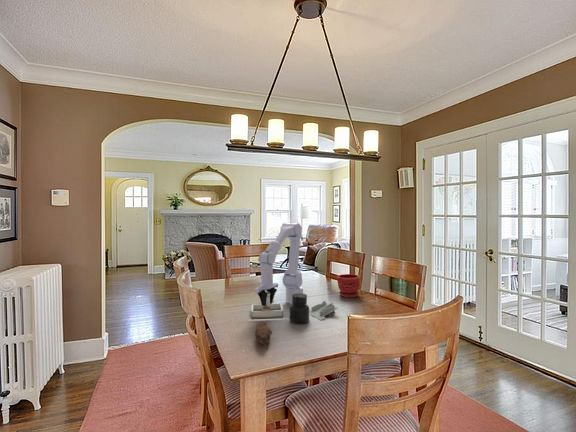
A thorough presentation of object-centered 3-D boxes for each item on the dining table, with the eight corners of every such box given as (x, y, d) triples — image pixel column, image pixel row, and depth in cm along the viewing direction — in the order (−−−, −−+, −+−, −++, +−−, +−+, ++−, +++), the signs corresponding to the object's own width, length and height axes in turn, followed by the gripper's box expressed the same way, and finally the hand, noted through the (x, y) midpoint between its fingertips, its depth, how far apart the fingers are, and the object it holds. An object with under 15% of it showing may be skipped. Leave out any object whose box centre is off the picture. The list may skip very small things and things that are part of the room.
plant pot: (352, 292, 198) (352, 272, 197) (363, 297, 185) (364, 277, 185) (333, 293, 193) (333, 274, 193) (344, 299, 181) (344, 278, 181)
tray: (281, 310, 162) (281, 303, 162) (283, 317, 150) (283, 310, 150) (251, 311, 161) (251, 304, 161) (251, 319, 149) (251, 311, 149)
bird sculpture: (269, 327, 138) (269, 316, 138) (274, 353, 113) (274, 339, 113) (254, 328, 137) (254, 316, 137) (256, 354, 112) (256, 340, 112)
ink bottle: (313, 320, 146) (313, 295, 146) (302, 326, 139) (301, 299, 139) (297, 316, 152) (297, 291, 152) (285, 321, 146) (285, 295, 145)
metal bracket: (323, 297, 166) (341, 305, 152) (326, 307, 166) (344, 316, 153) (300, 309, 159) (317, 318, 146) (303, 319, 160) (320, 329, 147)
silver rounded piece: (266, 309, 159) (266, 290, 159) (272, 311, 156) (272, 292, 155) (259, 311, 156) (260, 292, 155) (265, 314, 153) (266, 294, 152)
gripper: (270, 273, 163) (270, 299, 163) (250, 278, 152) (250, 306, 152) (281, 275, 159) (281, 302, 159) (261, 280, 148) (261, 309, 148)
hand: (267, 304), depth 155 cm, fingers open, 4 cm apart
